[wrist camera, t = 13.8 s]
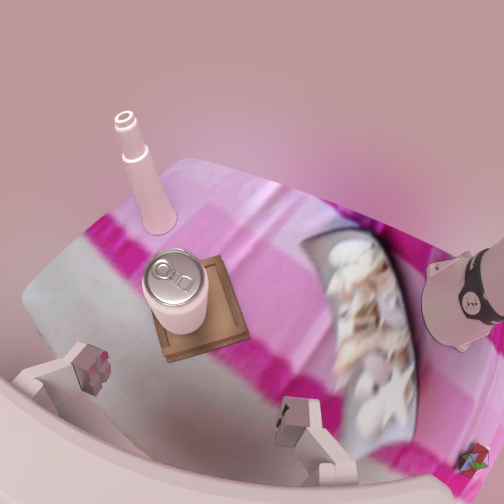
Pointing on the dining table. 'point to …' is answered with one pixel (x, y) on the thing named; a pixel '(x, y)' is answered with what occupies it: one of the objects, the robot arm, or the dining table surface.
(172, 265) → the can
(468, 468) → the geometric puzzle
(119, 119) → the pink bottle
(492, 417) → the dining table surface
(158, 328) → the pedestal
